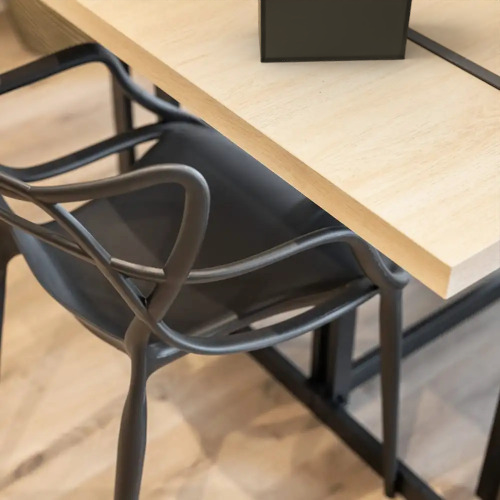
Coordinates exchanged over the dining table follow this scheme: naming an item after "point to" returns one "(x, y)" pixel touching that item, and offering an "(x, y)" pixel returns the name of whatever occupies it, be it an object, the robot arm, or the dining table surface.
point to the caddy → (332, 29)
